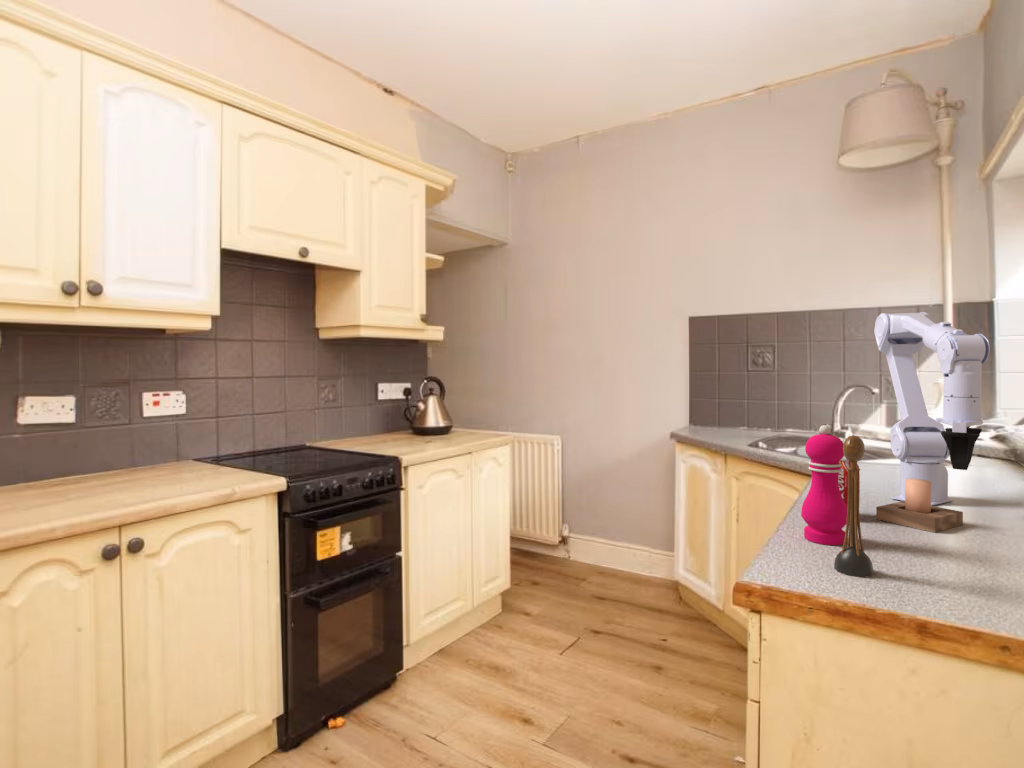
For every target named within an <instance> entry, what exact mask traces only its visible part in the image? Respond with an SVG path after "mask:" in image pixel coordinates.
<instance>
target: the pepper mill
mask: <svg viewBox="0 0 1024 768" xmlns="http://www.w3.org/2000/svg"><path fill="white" fill-rule="evenodd" d="M818 432H819V434H815V435H812V436H811V437H809V438H808V439H807V440H806V444H805V447H804V448H805V449H804V450H805V451H804V452H805V454H806V455H807V457H808V458H809V459H810V460H809V461H808V464H809V465H808V470H810V473H811V482H810V488H809V490H808V492H807V495H806V496H805V498H804V500H803V503H802V505H801V512H800V515H801V518H802V519H803V521H804V522H805V523H806V524H807V525H806V526H804V528H803V537H804V539H806V541H808V542H812V543H814V542H815V544H818V543H819V544H820V545H823V546H824V545H825V546H826V545H827V546H842V545H843V544H844V539H845V532H846V530H843V528H844V527H846V524H847V506H846V504H845V502H844V500H843V498H842V496H841V493H840V490H839V485H838V476H839V472H841V471H842V470H841V467H840V466H842V464H841V463H839V461H840V460H841V459H842V458H843V456H844V453H843V444H844V442H843V440H842V439H841V438H839V437H838V436H837V435H833V434H831V432H832V429H831V427H830V426H829V425H826V424H823V425H820V427H819V431H818ZM819 544H818V545H819Z"/></svg>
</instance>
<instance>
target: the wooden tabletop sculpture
mask: <svg viewBox="0 0 1024 768" xmlns="http://www.w3.org/2000/svg"><path fill="white" fill-rule="evenodd" d="M864 443H865V442H864V441H863V439H862V438H861V437H860V436H859V435H849V436H848V437H846V438H845V439H844V442H843V453H844V456H845V458H846V459H847V460H849V461H851V468H847V469H848V508H847V524H846V525H845V539H844V544H842V550H841V551H839V553H837V555H836V557H835V559H834V562H833V568H834V569H835V571H837V572H838V573H840V572H841V574H843V573H844V575H845V576H850V575H851V577H857V576H859V577H858V578H865V576H869V577H871V576H873V575H874V566H873V562H872V561H871V558H870V557H869V555H867V554H866V552H865V549H864V544H863V539H862V531H861V518H860V500H859V474H860V471H861V470H862V469H861V468H859V469H858V468H857V464H858V462H860V461H861V460H862V459H863V457H864V456H865V444H864ZM859 547H860V548H859Z"/></svg>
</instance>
